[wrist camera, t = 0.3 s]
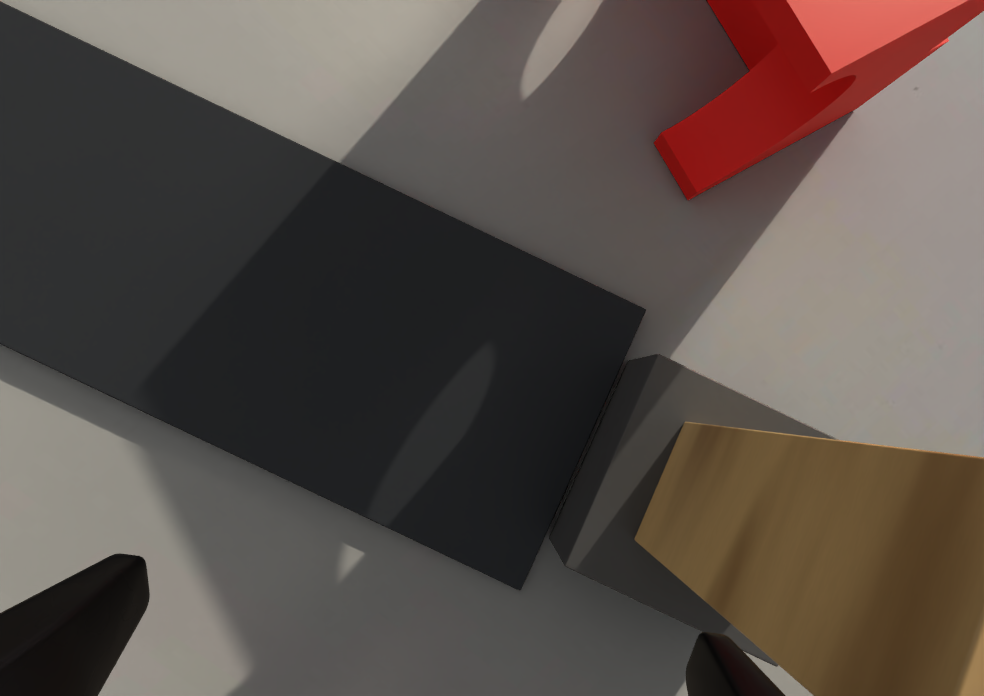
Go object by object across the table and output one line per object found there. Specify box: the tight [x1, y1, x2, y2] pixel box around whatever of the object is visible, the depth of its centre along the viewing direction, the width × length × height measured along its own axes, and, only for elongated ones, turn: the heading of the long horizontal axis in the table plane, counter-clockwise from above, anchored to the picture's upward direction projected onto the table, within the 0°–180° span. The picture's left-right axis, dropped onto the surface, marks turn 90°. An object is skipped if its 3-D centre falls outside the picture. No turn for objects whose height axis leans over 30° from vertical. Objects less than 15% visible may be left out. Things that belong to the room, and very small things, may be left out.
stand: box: [549, 354, 838, 667], centre depth 23 cm, size 9×9×4 cm
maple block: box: [635, 422, 984, 696], centre depth 14 cm, size 5×5×13 cm
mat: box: [0, 2, 646, 590], centre depth 24 cm, size 38×14×1 cm, turn 65°
